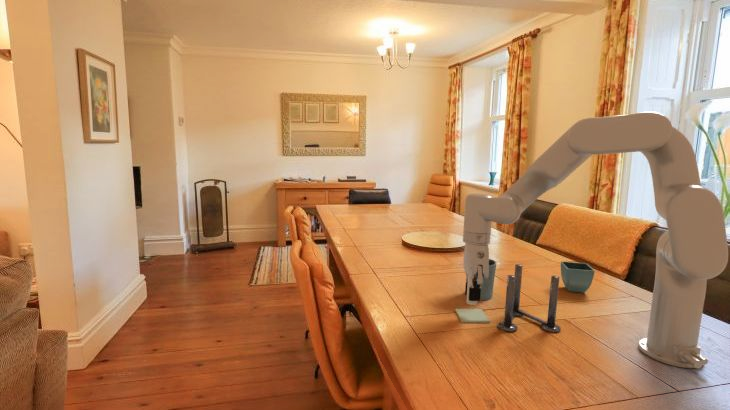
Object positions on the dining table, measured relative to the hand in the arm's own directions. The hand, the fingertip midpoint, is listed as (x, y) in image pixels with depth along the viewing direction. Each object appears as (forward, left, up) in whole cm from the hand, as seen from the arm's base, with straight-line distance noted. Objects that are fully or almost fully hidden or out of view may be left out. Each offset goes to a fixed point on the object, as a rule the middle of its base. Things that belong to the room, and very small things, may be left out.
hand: (472, 297), depth 113 cm
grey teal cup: (+17, -7, -6) cm, 19 cm away
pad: (0, 0, -6) cm, 6 cm away
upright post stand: (-2, -14, -6) cm, 15 cm away
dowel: (0, 0, -2) cm, 2 cm away
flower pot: (+23, -43, -6) cm, 49 cm away
